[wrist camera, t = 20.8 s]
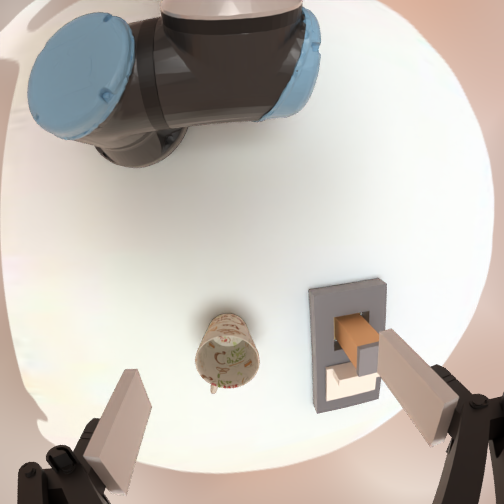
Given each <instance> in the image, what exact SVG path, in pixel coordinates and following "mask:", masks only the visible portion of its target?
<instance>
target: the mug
mask: <svg viewBox="0 0 504 504" xmlns="http://www.w3.org/2000/svg"><path fill="white" fill-rule="evenodd" d="M259 363H260V360H259V354H258V351H257V349H256V347H255V344H254V342H253V340H252V337H251V335H250V333H249V331H248V328H247V326H246V324H245V322H244V321H243V320H242V319H241V318H240V317H239V316H237V315H234V314H228V313H227V314H221V315H219V316H217V317H215V318H214V319H213V320H212V322H211V323H210V325H209V327H208V329H207V331H206V333H205V335H204V337H203V339H202V342H201V344H200V346H199V348H198V350H197V353H196V358H195V364H196V368H197V371H198V373H199V374H200V376H201V377H202V378H203V379H204V380H205V381H207V382H208V383H210V384H211V393H212V394H215V393H216V391H217V388H218V387H220V388H236V387H239V386H242V385H244V384H246V383H248V382H249V381H250V380H252V379H253V377H254V376H255V375H256V373H257V371H258V368H259Z"/></svg>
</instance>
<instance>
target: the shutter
mask: <svg viewBox="0 0 504 504" xmlns="http://www.w3.org/2000/svg"><path fill="white" fill-rule="evenodd" d="M356 371H357V370H356V368H355V367H354V365H353V364H352V362H348V363H344V364H339V365H334V366H329V367H326V401H330V400H334V399H339V398H343V397H348V396H352V395H356V394H360V393H364V392H368V391H371V390H375V384H376V377H380V376H379V374H378V373H373V374H369V375H365V376H361V377H358V375H357V373H356Z"/></svg>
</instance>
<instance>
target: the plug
mask: <svg viewBox="0 0 504 504" xmlns="http://www.w3.org/2000/svg"><path fill="white" fill-rule="evenodd" d="M334 323H335V338H336V340H337V341H338V343H339V344H340V346H341V347H342V349H343V350H344V352H345V353H346V355H347V356H348V358H349V359H350V361H351V362H352V364H353V365H354V367H355V368H356V370H357V371H356V373H357V375H358V377H361V376H365V375H369V374H373V373H377V366H378V351H379V334H378V333H377V331H376V330H375V329H374V328H373V327H372V326H371V325H370V324H369V323H368V322H367V321H366V320H365V319H364V318H363V317H362V316H361V315H360V314H359V313H355V314H350V315H344V316H339V317H334Z"/></svg>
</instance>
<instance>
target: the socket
mask: <svg viewBox="0 0 504 504" xmlns="http://www.w3.org/2000/svg"><path fill="white" fill-rule="evenodd" d="M386 294H387V283H385V282H384V281H382V280H381V279H379V278H377V279H371V280H365V281H359V282H353V283H347V284H341V285H335V286H329V287H322V288H316V289H309V301H310V319H311V340H312V367H313V404H314V407H315V410H316V412H317V414H318V413H323V412H327V411H332V410H336V409H341V408H345V407H349V406H353V405H357V404H361V403H365V402H369V401H372V400H376V399H379V391H380V382H381V377H376V384H375V390H371V391H368V392H364V393H360V394H356V395H352V396H348V397H343V398H339V399H334V400H330V401H326V367H329V366H334V365H339V364H344V363H348V362H351V361H350V359H349V358H348V356H347V355H346V353H345V352H344V350H343V349H342V347H341V346H340V344H339V343H338V341H334V340H335V339H336V338H335V323H334V317H339V316H344V315H350V314H355V313H359V314H360V312H362V317H363V318H364V319H365V320H366V321H367V322H368V323H369V324H370V325H371V326H372V327H373V328H374V329H375V330H376V331H377V333H378V334H379V332H380V331H384V330H385V321H386Z"/></svg>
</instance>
